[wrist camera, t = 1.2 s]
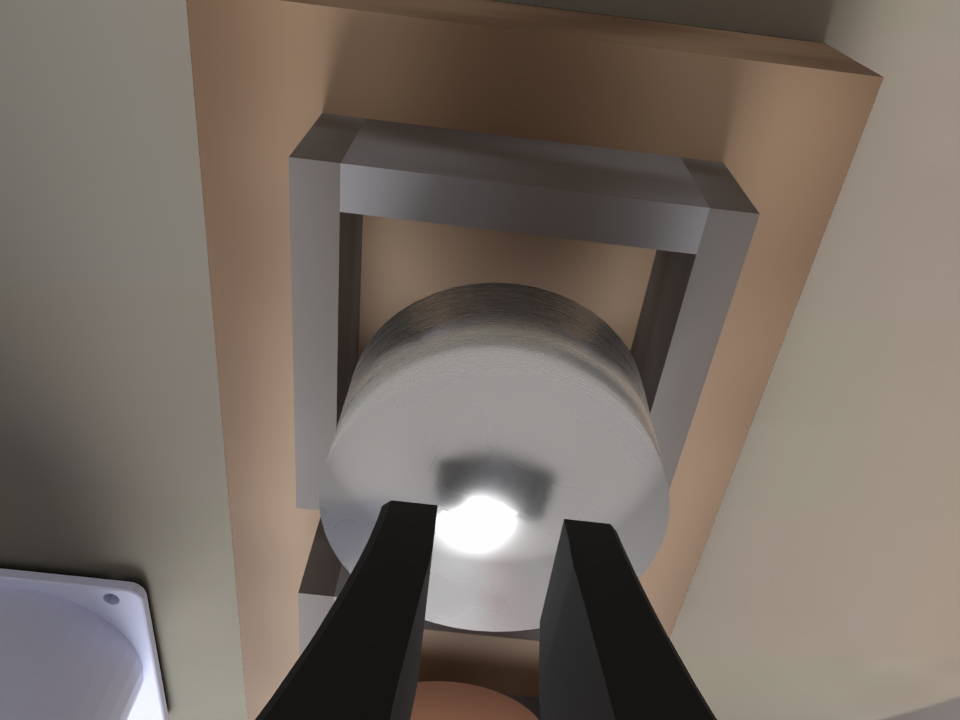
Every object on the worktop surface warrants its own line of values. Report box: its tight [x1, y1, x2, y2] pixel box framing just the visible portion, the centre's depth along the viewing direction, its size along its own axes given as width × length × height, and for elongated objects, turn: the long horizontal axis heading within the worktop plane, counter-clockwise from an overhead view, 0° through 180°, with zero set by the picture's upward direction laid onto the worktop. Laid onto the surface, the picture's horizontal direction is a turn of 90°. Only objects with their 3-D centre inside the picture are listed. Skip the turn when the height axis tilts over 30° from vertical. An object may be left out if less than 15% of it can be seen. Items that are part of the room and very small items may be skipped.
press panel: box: [186, 0, 884, 720], centre depth 19 cm, size 12×21×6 cm, turn 174°
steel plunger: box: [319, 282, 670, 632], centre depth 12 cm, size 5×5×2 cm
